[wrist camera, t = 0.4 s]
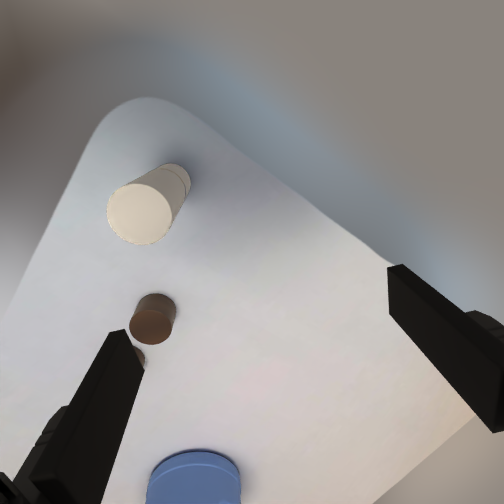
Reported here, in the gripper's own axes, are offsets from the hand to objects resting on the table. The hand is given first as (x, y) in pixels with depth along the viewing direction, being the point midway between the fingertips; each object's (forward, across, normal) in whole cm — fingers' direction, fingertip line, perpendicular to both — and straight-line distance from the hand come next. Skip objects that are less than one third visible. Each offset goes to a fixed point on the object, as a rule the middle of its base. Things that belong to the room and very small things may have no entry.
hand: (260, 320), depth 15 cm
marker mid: (+23, -14, -11) cm, 29 cm away
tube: (+23, -7, +4) cm, 25 cm away
